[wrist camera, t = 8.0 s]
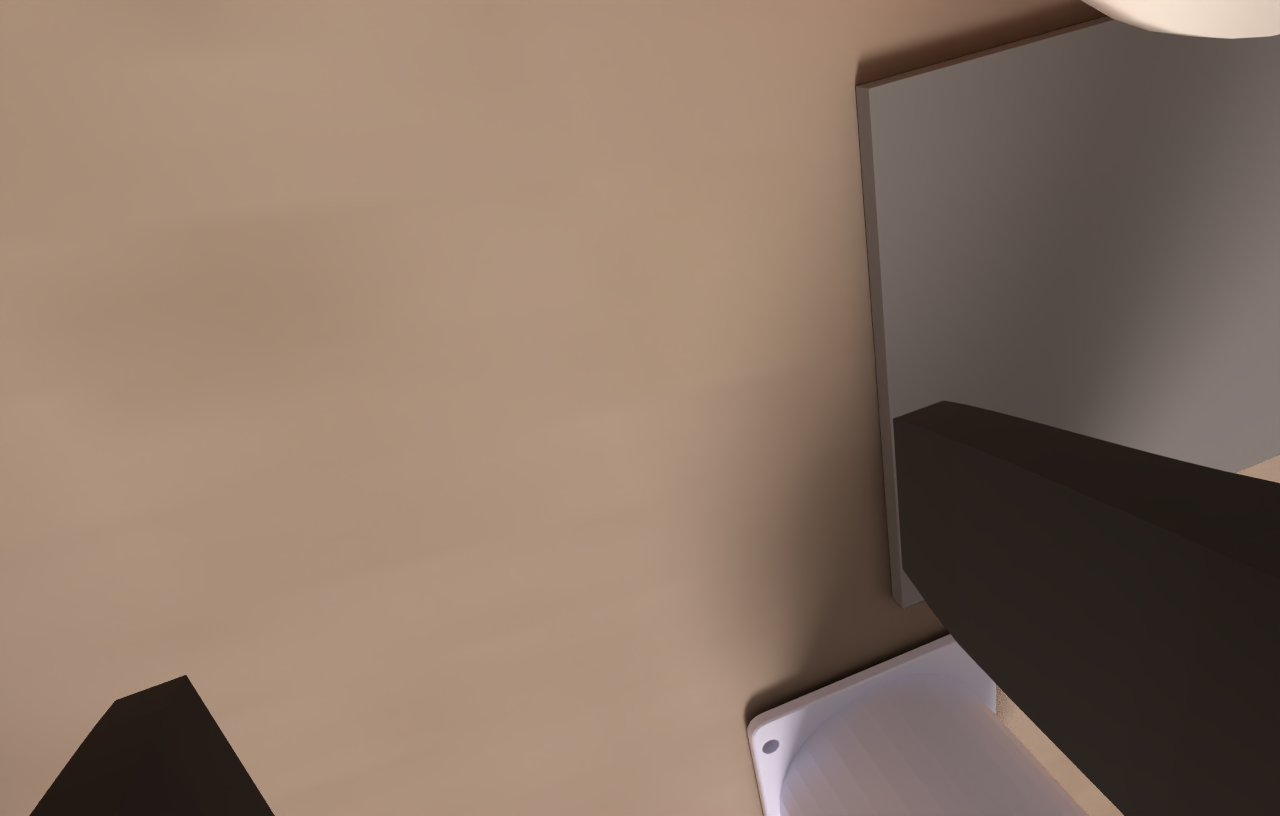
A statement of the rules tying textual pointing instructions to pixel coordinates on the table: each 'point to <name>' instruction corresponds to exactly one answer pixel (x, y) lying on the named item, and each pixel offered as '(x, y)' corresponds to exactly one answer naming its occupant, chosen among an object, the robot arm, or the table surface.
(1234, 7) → the lid
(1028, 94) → the mat
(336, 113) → the table surface
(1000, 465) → the robot arm
